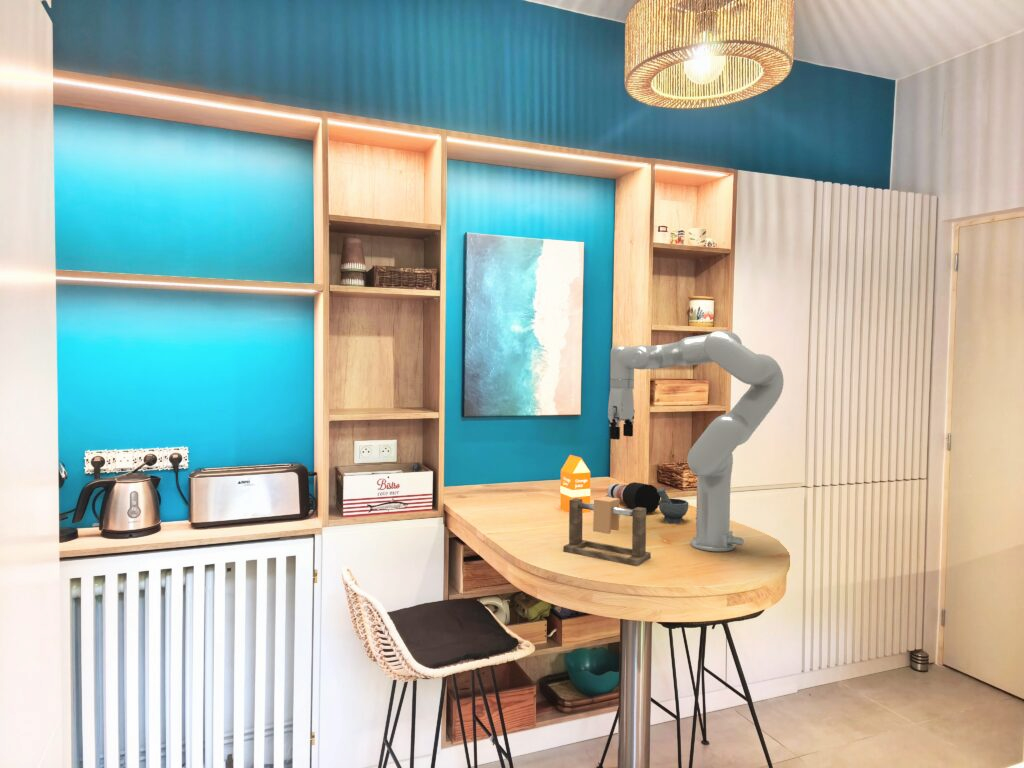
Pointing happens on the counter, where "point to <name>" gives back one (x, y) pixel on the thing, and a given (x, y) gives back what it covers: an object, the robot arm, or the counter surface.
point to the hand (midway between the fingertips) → (621, 437)
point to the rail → (613, 510)
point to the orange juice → (575, 482)
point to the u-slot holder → (605, 515)
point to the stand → (577, 544)
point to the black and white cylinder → (635, 495)
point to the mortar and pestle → (672, 507)
